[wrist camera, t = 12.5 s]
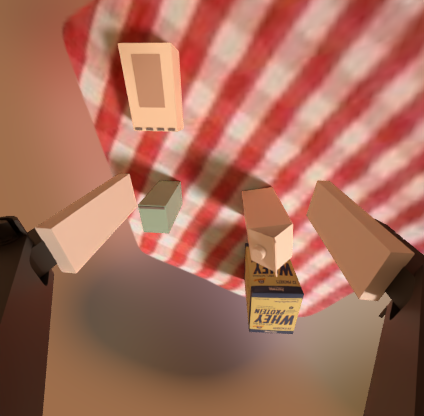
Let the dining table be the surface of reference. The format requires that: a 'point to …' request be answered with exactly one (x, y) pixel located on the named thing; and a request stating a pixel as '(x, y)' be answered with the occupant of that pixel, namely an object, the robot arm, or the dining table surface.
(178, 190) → the pale green block
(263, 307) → the protein box
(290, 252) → the milk carton
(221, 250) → the dining table surface
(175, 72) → the block
